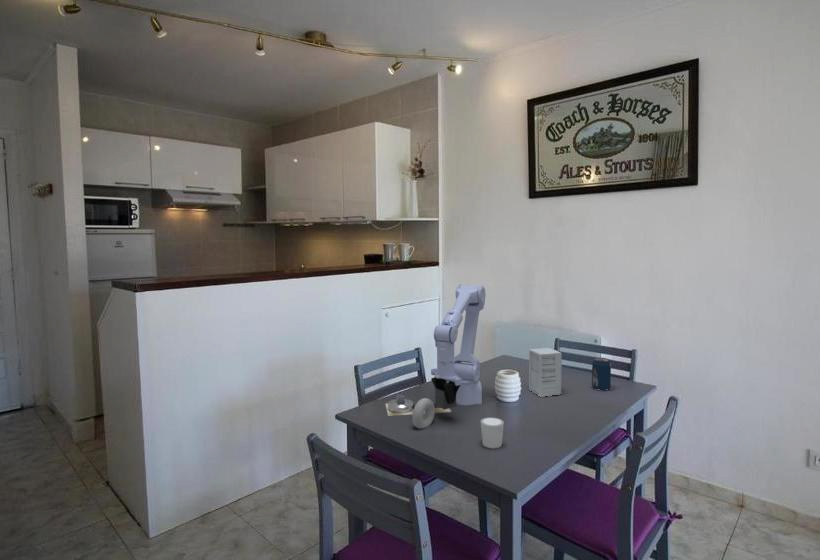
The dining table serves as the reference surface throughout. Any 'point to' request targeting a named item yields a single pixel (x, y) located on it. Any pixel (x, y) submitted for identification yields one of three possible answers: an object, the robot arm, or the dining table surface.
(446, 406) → the charcoal matte cube
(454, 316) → the robot arm
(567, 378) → the dining table surface
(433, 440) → the dining table surface
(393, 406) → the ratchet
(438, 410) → the board
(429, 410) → the donut
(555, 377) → the supplement box
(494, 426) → the shot glass
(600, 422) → the dining table surface
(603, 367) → the soda can
